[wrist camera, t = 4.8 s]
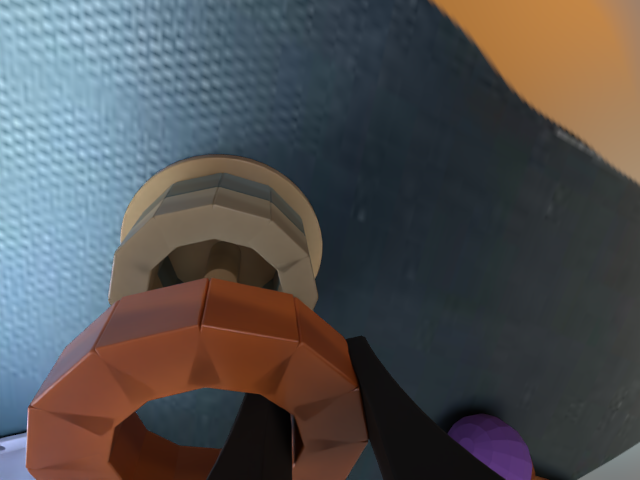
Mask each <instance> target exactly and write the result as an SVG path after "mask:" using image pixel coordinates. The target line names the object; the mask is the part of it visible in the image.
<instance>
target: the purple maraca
mask: <svg viewBox="0 0 640 480" xmlns="http://www.w3.org/2000/svg"><path fill="white" fill-rule="evenodd" d="M448 435H449V436H450V437H451V438H453V439H454V440H455V441H456V442H457V443H459V444H460V445H461V446H462V447H464V448H465V449H466V450H467V451H469V452H470V453H471V454H472V455H474V456H475V457H476V458H477V459H479V460H480V461H481V462H483V463H484V464H485V465H487V466H488V467H489V468H491V469H492V470H493V471H495V472H496V473H498V474H499V475H500V476H502V477H503V478H505V479H506V480H548V479H545V478H542V477H538V476H535V470H534V466H533V463H532V460H531V457H530V453H529V450H528V446H527V445H526V443H525V442H524V440H523V439H522V438H521V436H520V435H519V433H518V432H517V431H516V430H514V429H513V428H512V427H510V426H509V425H508V424H506V423H505V422H503V421H502V420H501V419H499V418H498V417H495V416H491V415H487V414H477V415H471V416H466V417H463V418H462V419H460V420H459V421H457V422H456V423H454V424H453V426H452V427H451V429H450V430H449V432H448Z"/></svg>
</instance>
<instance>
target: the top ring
mask: <svg viewBox="0 0 640 480" xmlns="http://www.w3.org/2000/svg"><path fill="white" fill-rule="evenodd" d="M204 387H207V388H215V389H223V390H231V391H239V392H246V393H254V394H260V395H262V396H264V397H265V398H267V399H268V400H270V401H271V402H273V403H275V404H276V405H278V406H279V407H281V408H282V409H284V410H286V411H287V412H289V413H290V415H291V424H292V480H345V479H346V478H347V476H348V474H349V473H350V471H351V469H352V468H353V466H354V465H355V463H356V461H357V460H358V458H359V456H360V455H361V453H362V451H363V450H364V448H365V446H366V445H367V443H368V439H369V433H368V428H367V422H366V417H365V411H364V406H363V400H362V395H361V389H360V386H359V382H358V379H357V376H356V374H355V371H354V368H353V366H352V363H351V360H350V356H349V353H348V344H347V341H346V340H345V339H344V337H343V336H342V335H341V334H339V333H338V332H337V331H336V330H335V329H333V328H332V327H331V326H330V325H329V324H328V323H326V322H325V321H324V320H323V319H322V318H320V317H319V316H318V315H317V314H316V313H315V312H313V311H312V310H311V309H310V308H309V307H308V306H306V305H305V304H304V303H303V302H302V301H300V300H299V299H298V298H297V297H294V298H293V295H292V294H289V293H284V292H279V291H274V290H269V289H264V288H260V287H255V286H250V285H245V284H240V283H235V282H231V281H226V280H221V279H216V278H211V279H210V281H209V279H208V278H203V279H199V280H194V281H190V282H186V283H181V284H177V285H172V286H168V287H164V288H159V289H155V290H150V291H146V292H142V293H137V294H133V295H128V296H124V297H122V298H121V300H118V301H116V302H115V303H114V304H113V305H111V306H110V307H109V308H108V309H107V310H106V311H105V312H104V313H103V314H102V315H100V316H99V317H98V318H97V319H96V320H95V321H94V322H93V323H92V324H91V325H89V326H88V327H87V328H86V329H85V330H84V331H83V332H82V333H81V334H80V335H78V336H77V337H76V338H75V339H74V340H73V341H72V342H71V343H70V344H69V345H67V346H66V347H65V349H64V350H63V352H62V354H61V355H60V357H59V358H58V360H57V362H56V363H55V365H54V366H53V368H52V370H51V371H50V373H49V375H48V376H47V378H46V379H45V381H44V383H43V384H42V386H41V387H40V389H39V391H38V392H37V394H36V395H35V397H34V399H33V400H32V402H31V403H30V405H29V407H28V416H27V441H26V465H25V467H26V468H27V471H28V472H29V473H30V474H31V475H32V476H33V477H34V478H35V479H36V480H206V479H207V477H208V475H209V473H210V471H211V470H212V468H213V466H214V464H215V462H216V460H217V458H218V456H219V454H220V452H221V450H222V448H221V449H215V448H203V447H191V446H179V445H177V444H175V443H173V442H171V441H169V440H167V439H165V438H163V437H161V436H159V435H157V434H155V433H153V432H151V431H148V430H147V429H146V427H145V426H144V424H143V423H142V421H141V420H140V418H139V417H138V415H137V413H136V412H135V411H136V410H138V409H139V408H140V407H141V406H143V405H144V404H145V403H146V402H148V401H150V400H154V399H158V398H162V397H166V396H171V395H175V394H179V393H183V392H187V391H191V390H196V389H200V388H204Z"/></svg>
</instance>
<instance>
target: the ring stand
mask: <svg viewBox="0 0 640 480" xmlns="http://www.w3.org/2000/svg"><path fill="white" fill-rule="evenodd" d="M120 241H121V244H120V246H119V247H118V249H117V250H116V251H115V254H114V259H113V266H112V273H111V280H110V287H109V294H108V298H109V299H108V301H109V303H110V305H113V304H114V303H115V302H116V301H118V300H121V298H122V297H124V296H128V295H133V294H137V293H142V292H146V291H150V290H155V289H159V288H164V287H168V286H172V285H177V284H181V283H186V282H190V281H194V280H199V279H203V278H208V279H209V281H210V279H211V278H216V279H221V280H226V281H231V282H235V283H240V284H245V285H250V286H255V287H260V288H264V289H269V290H274V291H279V292H284V293H289V294H292V295H293V298H294V297H297V298H298V299H299V300H300V301H302V302H303V303H304V304H305V305H306V306H308V307H309V308H310V309H311V310H312V311H313V309H314V307H315V305H316V302H317V300H318V292H317V287H316V283H315V277H316V275H317V273H318V270H319V267H320V263H321V258H322V236H321V230H320V227H319V223H318V219H317V217H316V214H315V212H314V210H313V208H312V206H311V204H310V203H309V201H308V199H307V198H306V196H305V195H304V194H303V193H302V192H301V190H300V189H299V188H298V187H297V186H296V185H295V184H294V183H293V182H292V181H291V180H290V179H288V178H287V177H286V176H284V175H283V174H281V173H280V172H279V171H277V170H275V169H273V168H271V167H269V166H268V165H266V164H263V163H260V162H258V161H255V160H253V159H249V158H245V157H240V156H234V155H225V154H209V155H202V156H195V157H191V158H188V159H184V160H181V161H178V162H176V163H174V164H171V165H169V166H167V167H166V168H164V169H162V170H161V171H159V172H157V173H156V174H155V175H154V176H152V177H151V178H150V179H149V180H148V181H146V183H145V184H144V185H143V186H142V187H141V188H140V189H139V191H138V192H137V193H136V194H135V196H134V197H133V199H132V201H131V202H130V204H129V205H128V208H127V210H126V213H125V215H124V218H123V222H122V227H121V238H120Z"/></svg>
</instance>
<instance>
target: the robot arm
mask: <svg viewBox="0 0 640 480" xmlns="http://www.w3.org/2000/svg"><path fill="white" fill-rule="evenodd" d="M345 340H346V341H347V344H348V353H349V356H350V360H351V363H352V366H353V368H354V371H355V374H356V376H357V379H358V382H359V386H360V389H361V395H362V400H363V406H364V411H365V417H366V422H367V428H368V433H369V439H370V442H371V445H372V448H373V451H374V454H375V457H376V459H377V462H378V465H379V468H380V471H381V474H382V477H383V480H506V479H505V478H503V477H502V476H500V475H499V474H498V473H496V472H495V471H493V470H492V469H491V468H489V467H488V466H487V465H485V464H484V463H483V462H481V461H480V460H479V459H477V458H476V457H475V456H474V455H472V454H471V453H470V452H469V451H467V450H466V449H465V448H464V447H462V446H461V445H460V444H459V443H457V442H456V441H455V440H454V439H453V438H451V437H450V436H449V435H448V434H447V433H446V432H445V431H443V430H442V429H441V428H440V427H439V426H438V425H437V424H436V423H435V422H434V421H433V420H431V419H430V418H429V417H428V416H427V415H426V414H425V413H424V412H423V411H422V410H421V409H420V408H419V407H418V406H417V405H416V404H415V403H414V401H413V400H412V399H411V398H410V397H409V396H408V395H407V394H406V393H405V392H404V391H403V389H402V388H401V387H400V386H399V385H398V384H397V382H396V381H395V380H394V379H393V377H392V376H391V375H390V374H389V373H388V371H387V370H386V369H385V367H384V366H383V365H382V363H381V362H380V361H379V359H378V358H377V356H376V355H375V353H374V352H373V350H372V349H371V347H370V345H369V344H368V342H367V340H366V338H365V337H363V336H358V337H354V338H349V339H345ZM26 441H27V432H26V433H22V434H18V435H13V436H9V437H4V438H0V480H36V479H35V478H34V477H33V476H32V475H31V474H30V473H29V472H28V471H27V468H26V467H25V465H26ZM206 480H292V424H291V415H290V413H289V412H287V411H286V410H284V409H282V408H281V407H279V406H278V405H276V404H275V403H273V402H271V401H270V400H268V399H267V398H265V397H264V396H262V395H260V394H254V393H245V396H244V399H243V401H242V404H241V407H240V409H239V412H238V414H237V417H236V419H235V422H234V424H233V426H232V428H231V431H230V433H229V435H228V437H227V440H226V442H225V444H224V446H223V448H222V450H221V452H220V454H219V456H218V458H217V460H216V462H215V464H214V466H213V468H212V470H211V471H210V473H209V475H208V477H207V479H206Z"/></svg>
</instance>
